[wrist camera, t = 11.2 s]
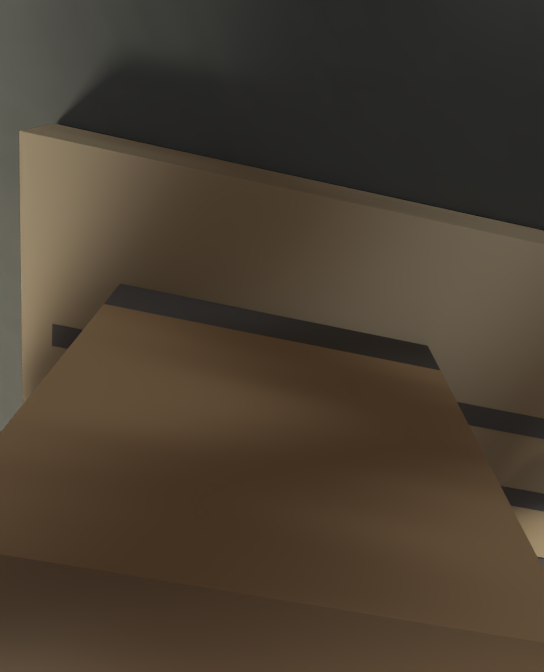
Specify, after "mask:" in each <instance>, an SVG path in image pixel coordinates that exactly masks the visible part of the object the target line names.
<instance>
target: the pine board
mask: <svg viewBox="0 0 544 672" xmlns="http://www.w3.org/2000/svg"><path fill="white" fill-rule="evenodd" d="M19 143H20V221H21V299H22V377H23V404H24V403H25V402H26V400H27V399H28V398H29V397H30V395H31V394H32V393H33V392H34V390H35V389H36V388H37V387H38V385H39V384H40V383H41V382H42V380H43V379H44V378H45V377H46V375H47V374H48V373H49V372H50V370H51V369H52V368H53V367H54V365H55V364H56V363H57V362H58V360H59V359H60V358H61V357H62V355H63V354H64V353H65V352H66V350H67V349H68V348H69V347H70V346H71V344H72V343H73V342H74V341H75V339H76V338H77V337H78V336H79V334H80V333H81V332H82V331H83V329H84V328H85V327H86V326H87V324H88V323H89V322H90V321H91V319H92V318H93V317H94V316H95V314H96V313H97V312H98V311H99V309H100V308H101V307H102V306H103V304H104V303H105V302H106V301H107V299H108V298H109V297H110V296H111V294H112V293H113V292H114V291H115V289H116V288H117V287H118V286H119V285H120V284H124V285H129V286H134V287H139V288H144V289H149V290H154V291H159V292H164V293H169V294H174V295H179V296H184V297H189V298H194V299H199V300H204V301H208V302H213V303H218V304H223V305H228V306H233V307H238V308H243V309H248V310H253V311H258V312H263V313H268V314H273V315H278V316H283V317H288V318H293V319H298V320H303V321H308V322H313V323H318V324H323V325H328V326H333V327H338V328H343V329H348V330H353V331H358V332H363V333H368V334H372V335H377V336H382V337H387V338H392V339H397V340H402V341H407V342H412V343H417V344H422V345H427V346H428V347H429V349H430V351H431V353H432V355H433V357H434V359H435V361H436V363H437V365H438V367H439V369H440V370H441V372H442V374H443V376H444V378H445V380H446V382H447V384H448V386H449V388H450V390H451V392H452V394H453V395H454V397H455V399H456V401H457V403H458V405H459V407H460V409H461V411H462V413H463V415H464V417H465V419H466V421H467V422H468V424H469V426H470V428H471V430H472V432H473V434H474V436H475V438H476V440H477V442H478V444H479V446H480V447H481V449H482V451H483V453H484V455H485V457H486V459H487V461H488V463H489V465H490V467H491V469H492V471H493V472H494V474H495V476H496V478H497V480H498V482H499V484H500V486H501V488H502V490H503V492H504V494H505V496H506V497H507V499H508V501H509V503H510V505H511V507H512V509H513V511H514V513H515V515H516V517H517V519H518V521H519V523H520V524H521V526H522V528H523V530H524V532H525V534H526V536H527V538H528V540H529V542H530V544H531V546H532V548H533V549H534V551H535V553H536V555H537V557H538V559H539V561H540V563H541V565H542V567H543V569H544V231H543V230H539V229H534V228H530V227H525V226H521V225H516V224H511V223H507V222H502V221H498V220H493V219H489V218H484V217H479V216H475V215H470V214H466V213H461V212H457V211H452V210H447V209H443V208H438V207H434V206H429V205H425V204H420V203H415V202H411V201H406V200H402V199H397V198H392V197H388V196H383V195H379V194H374V193H370V192H365V191H360V190H356V189H351V188H347V187H342V186H338V185H333V184H328V183H324V182H319V181H315V180H310V179H306V178H301V177H296V176H292V175H287V174H283V173H278V172H274V171H269V170H264V169H260V168H255V167H251V166H246V165H242V164H237V163H232V162H228V161H223V160H219V159H214V158H210V157H205V156H200V155H196V154H191V153H187V152H182V151H177V150H173V149H168V148H164V147H159V146H155V145H150V144H145V143H141V142H136V141H132V140H127V139H123V138H118V137H113V136H109V135H104V134H100V133H95V132H91V131H86V130H81V129H77V128H72V127H68V126H63V125H59V124H50V125H45V126H40V127H35V128H30V129H26V130H21V131H19Z"/></svg>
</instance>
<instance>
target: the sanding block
mask: <svg viewBox="0 0 544 672" xmlns="http://www.w3.org/2000/svg"><path fill="white" fill-rule="evenodd" d="M0 672H544V569H543V567H542V565H541V563H540V561H539V559H538V557H537V555H536V553H535V551H534V549H533V548H532V546H531V544H530V542H529V540H528V538H527V536H526V534H525V532H524V530H523V528H522V526H521V524H520V523H519V521H518V519H517V517H516V515H515V513H514V511H513V509H512V507H511V505H510V503H509V501H508V499H507V497H506V496H505V494H504V492H503V490H502V488H501V486H500V484H499V482H498V480H497V478H496V476H495V474H494V472H493V471H492V469H491V467H490V465H489V463H488V461H487V459H486V457H485V455H484V453H483V451H482V449H481V447H480V446H479V444H478V442H477V440H476V438H475V436H474V434H473V432H472V430H471V428H470V426H469V424H468V422H467V421H466V419H465V417H464V415H463V413H462V411H461V409H460V407H459V405H458V403H457V401H456V399H455V397H454V395H453V394H452V392H451V390H450V388H449V386H448V384H447V382H446V380H445V378H444V376H443V374H442V372H441V370H440V369H439V367H438V365H437V363H436V361H435V359H434V357H433V355H432V353H431V351H430V349H429V347H428V346H427V345H422V344H417V343H412V342H407V341H402V340H397V339H392V338H387V337H382V336H377V335H372V334H368V333H363V332H358V331H353V330H348V329H343V328H338V327H333V326H328V325H323V324H318V323H313V322H308V321H303V320H298V319H293V318H288V317H283V316H278V315H273V314H268V313H263V312H258V311H253V310H248V309H243V308H238V307H233V306H228V305H223V304H218V303H213V302H208V301H204V300H199V299H194V298H189V297H184V296H179V295H174V294H169V293H164V292H159V291H154V290H149V289H144V288H139V287H134V286H129V285H124V284H120V285H119V286H118V287H117V288H116V289H115V291H114V292H113V293H112V294H111V296H110V297H109V298H108V299H107V301H106V302H105V303H104V304H103V306H102V307H101V308H100V309H99V311H98V312H97V313H96V314H95V316H94V317H93V318H92V319H91V321H90V322H89V323H88V324H87V326H86V327H85V328H84V329H83V331H82V332H81V333H80V334H79V336H78V337H77V338H76V339H75V341H74V342H73V343H72V344H71V346H70V347H69V348H68V349H67V350H66V352H65V353H64V354H63V355H62V357H61V358H60V359H59V360H58V362H57V363H56V364H55V365H54V367H53V368H52V369H51V370H50V372H49V373H48V374H47V375H46V377H45V378H44V379H43V380H42V382H41V383H40V384H39V385H38V387H37V388H36V389H35V390H34V392H33V393H32V394H31V395H30V397H29V398H28V399H27V400H26V402H25V403H24V404H23V405H22V406H21V408H20V409H19V410H18V411H17V413H16V414H15V415H14V416H13V418H12V419H11V420H10V421H9V423H8V424H7V425H6V426H5V428H4V429H3V430H2V431H1V433H0Z"/></svg>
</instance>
